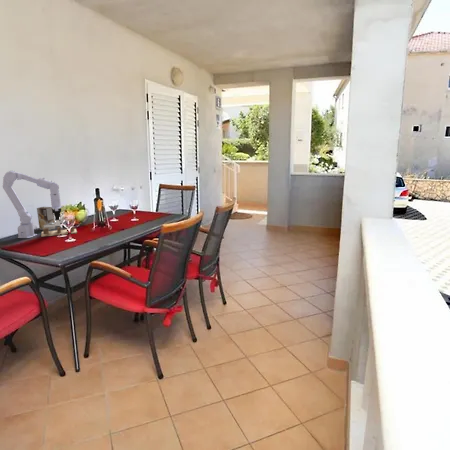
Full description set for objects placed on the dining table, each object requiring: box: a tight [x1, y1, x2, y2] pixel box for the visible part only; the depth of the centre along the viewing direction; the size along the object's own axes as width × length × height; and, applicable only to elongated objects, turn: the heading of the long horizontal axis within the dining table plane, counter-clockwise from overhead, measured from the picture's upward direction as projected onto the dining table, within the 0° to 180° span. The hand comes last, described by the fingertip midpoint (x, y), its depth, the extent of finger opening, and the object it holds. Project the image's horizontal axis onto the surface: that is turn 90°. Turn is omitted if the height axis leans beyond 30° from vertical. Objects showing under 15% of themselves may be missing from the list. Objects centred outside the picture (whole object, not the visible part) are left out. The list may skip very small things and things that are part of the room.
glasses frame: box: [44, 219, 63, 227], centre depth 235 cm, size 18×4×6 cm, turn 116°
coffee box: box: [36, 206, 56, 231], centre depth 248 cm, size 9×6×16 cm
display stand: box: [40, 225, 78, 237], centre depth 237 cm, size 22×10×4 cm, turn 116°
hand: (57, 219), depth 235 cm, fingers closed on glasses frame, 2 cm apart
